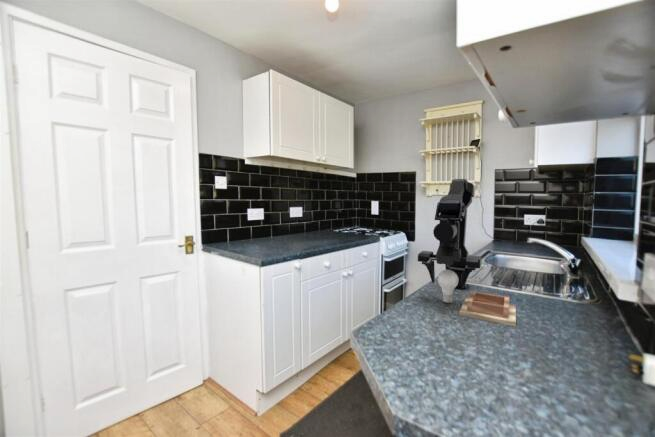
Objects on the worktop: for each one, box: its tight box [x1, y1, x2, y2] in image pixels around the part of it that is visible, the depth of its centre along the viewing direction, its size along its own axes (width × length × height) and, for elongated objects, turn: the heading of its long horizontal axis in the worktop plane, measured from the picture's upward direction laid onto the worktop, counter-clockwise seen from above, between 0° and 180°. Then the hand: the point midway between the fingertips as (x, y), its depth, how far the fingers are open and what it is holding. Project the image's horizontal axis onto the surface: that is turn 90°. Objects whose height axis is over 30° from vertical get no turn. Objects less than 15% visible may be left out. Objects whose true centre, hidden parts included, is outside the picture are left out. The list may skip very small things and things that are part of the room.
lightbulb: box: [437, 269, 459, 304], centre depth 97 cm, size 6×6×11 cm
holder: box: [459, 290, 517, 328], centre depth 89 cm, size 14×14×4 cm
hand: (447, 284), depth 97 cm, fingers open, 9 cm apart
